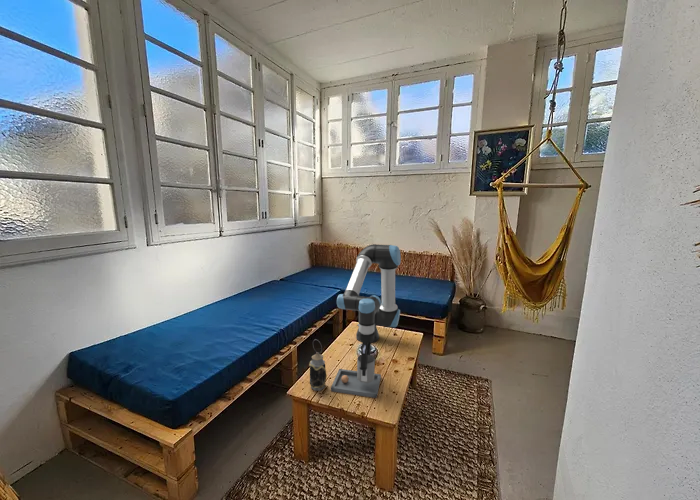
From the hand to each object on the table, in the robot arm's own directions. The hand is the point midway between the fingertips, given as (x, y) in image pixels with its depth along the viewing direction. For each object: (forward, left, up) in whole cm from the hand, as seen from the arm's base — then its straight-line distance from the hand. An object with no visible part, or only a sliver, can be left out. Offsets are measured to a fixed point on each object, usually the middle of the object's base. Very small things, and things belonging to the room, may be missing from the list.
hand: (365, 375), depth 139 cm
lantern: (+6, -22, -6) cm, 24 cm away
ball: (0, -10, -6) cm, 12 cm away
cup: (0, 0, -2) cm, 2 cm away
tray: (0, -4, -6) cm, 8 cm away
